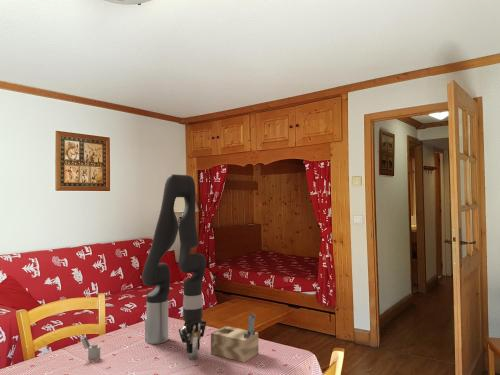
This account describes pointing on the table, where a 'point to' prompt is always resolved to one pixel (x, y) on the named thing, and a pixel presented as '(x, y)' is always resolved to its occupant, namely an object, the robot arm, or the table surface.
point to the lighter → (91, 349)
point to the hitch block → (234, 343)
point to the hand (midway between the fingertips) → (193, 350)
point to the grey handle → (251, 324)
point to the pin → (194, 347)
